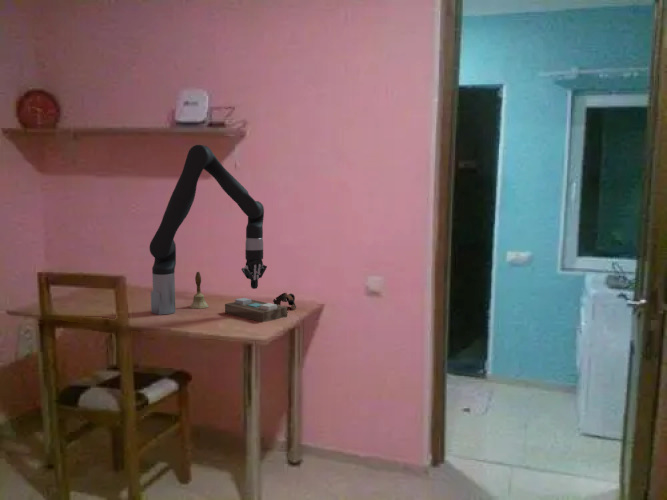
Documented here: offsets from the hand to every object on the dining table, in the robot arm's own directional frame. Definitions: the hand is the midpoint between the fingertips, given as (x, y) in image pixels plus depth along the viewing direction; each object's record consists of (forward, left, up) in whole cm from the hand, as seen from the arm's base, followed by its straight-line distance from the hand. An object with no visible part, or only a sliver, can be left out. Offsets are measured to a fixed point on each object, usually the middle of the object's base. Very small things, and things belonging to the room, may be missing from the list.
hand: (254, 288), depth 263 cm
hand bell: (-7, +29, -12) cm, 32 cm away
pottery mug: (+18, -2, -12) cm, 21 cm away
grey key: (0, +7, -8) cm, 11 cm away
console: (0, -1, -11) cm, 11 cm away
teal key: (0, -1, -9) cm, 9 cm away
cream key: (0, -9, -8) cm, 12 cm away
